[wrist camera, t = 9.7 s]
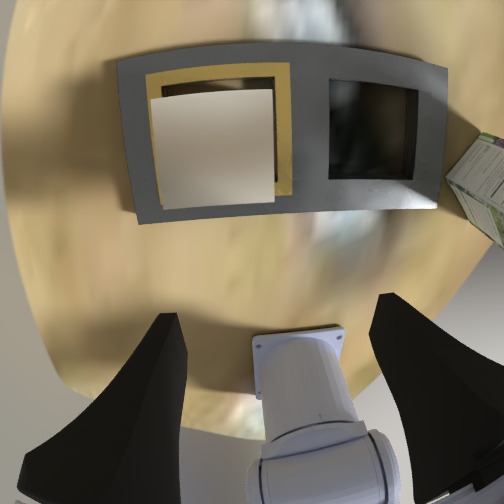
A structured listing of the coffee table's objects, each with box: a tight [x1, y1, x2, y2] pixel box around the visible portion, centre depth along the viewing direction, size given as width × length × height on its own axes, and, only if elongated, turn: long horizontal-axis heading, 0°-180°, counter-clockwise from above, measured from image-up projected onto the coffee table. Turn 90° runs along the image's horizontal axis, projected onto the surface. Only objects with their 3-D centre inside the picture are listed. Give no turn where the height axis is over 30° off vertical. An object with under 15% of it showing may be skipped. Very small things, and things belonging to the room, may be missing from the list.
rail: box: [117, 43, 448, 225], centre depth 16 cm, size 10×20×2 cm, turn 93°
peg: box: [151, 89, 275, 210], centre depth 13 cm, size 4×4×8 cm
